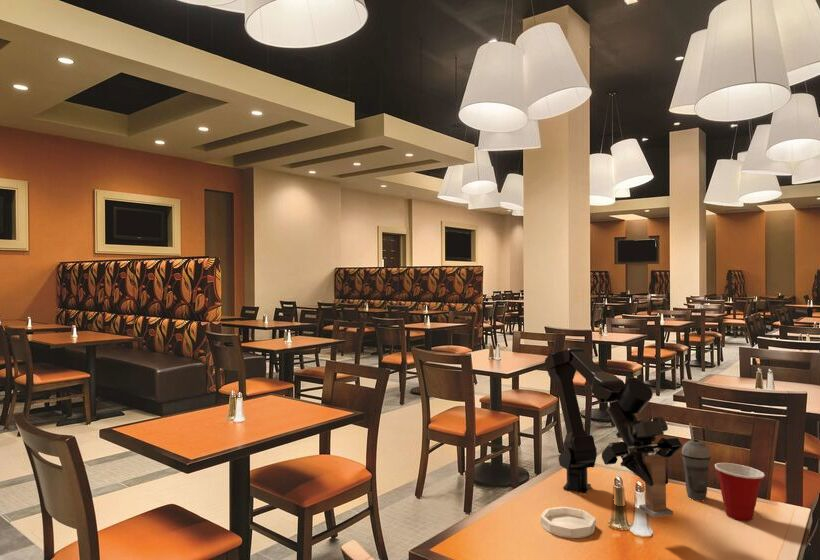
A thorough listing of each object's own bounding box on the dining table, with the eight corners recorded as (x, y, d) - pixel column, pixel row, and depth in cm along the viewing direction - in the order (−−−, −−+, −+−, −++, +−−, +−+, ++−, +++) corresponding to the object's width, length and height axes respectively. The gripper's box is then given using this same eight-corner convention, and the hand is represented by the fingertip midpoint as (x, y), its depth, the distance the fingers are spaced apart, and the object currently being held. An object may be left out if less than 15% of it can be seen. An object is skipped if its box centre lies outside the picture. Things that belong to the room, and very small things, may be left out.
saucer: (549, 511, 141) (549, 503, 142) (599, 521, 135) (599, 512, 135) (535, 531, 131) (534, 521, 131) (588, 542, 125) (588, 532, 125)
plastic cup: (776, 523, 133) (775, 474, 133) (735, 527, 131) (734, 476, 131) (743, 505, 143) (742, 459, 143) (705, 508, 142) (704, 462, 142)
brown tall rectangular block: (639, 508, 127) (638, 454, 127) (657, 506, 129) (656, 452, 129) (654, 517, 123) (653, 461, 123) (673, 514, 124) (672, 459, 124)
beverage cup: (709, 505, 144) (708, 428, 144) (679, 499, 149) (677, 424, 149) (714, 496, 150) (712, 423, 150) (684, 490, 154) (683, 419, 154)
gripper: (607, 408, 127) (640, 471, 116) (676, 402, 132) (713, 463, 121) (589, 433, 135) (617, 495, 124) (654, 427, 139) (687, 486, 129)
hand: (659, 484), depth 124 cm, fingers closed on brown tall rectangular block, 3 cm apart
